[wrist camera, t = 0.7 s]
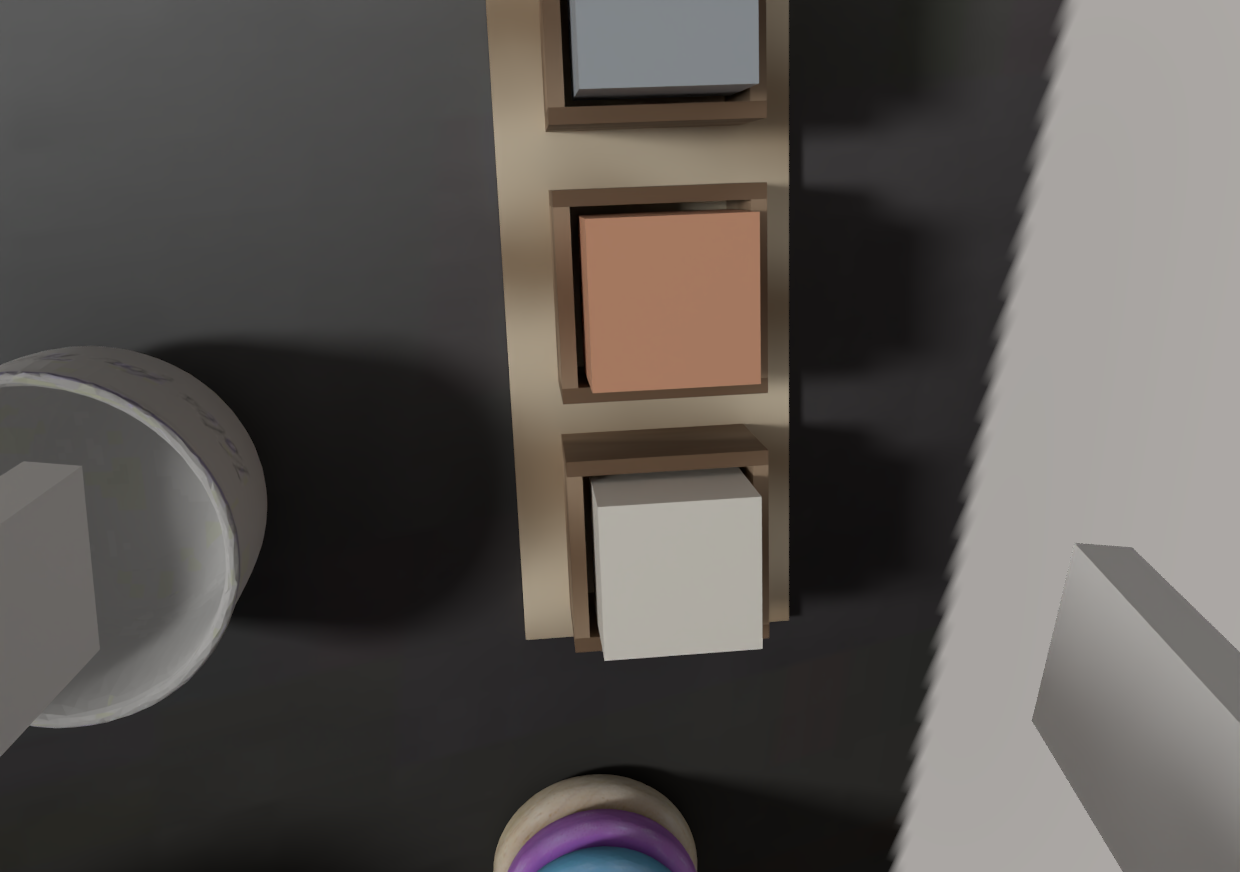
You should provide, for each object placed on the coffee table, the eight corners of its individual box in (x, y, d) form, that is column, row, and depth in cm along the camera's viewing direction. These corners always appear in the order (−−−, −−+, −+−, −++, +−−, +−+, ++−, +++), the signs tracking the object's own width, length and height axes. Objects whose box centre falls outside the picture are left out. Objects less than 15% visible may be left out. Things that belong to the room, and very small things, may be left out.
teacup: (331, 393, 37) (282, 447, 29) (242, 663, 39) (175, 781, 31) (-81, 253, 35) (-252, 272, 27) (-153, 548, 37) (-332, 644, 29)
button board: (785, 615, 41) (817, 666, 36) (526, 634, 40) (527, 689, 36) (785, -123, 35) (823, -168, 30) (478, -119, 34) (473, -164, 29)
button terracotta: (734, 362, 35) (761, 384, 31) (584, 370, 35) (592, 393, 31) (732, 208, 34) (759, 211, 30) (577, 215, 34) (585, 219, 30)
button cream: (736, 600, 37) (762, 648, 33) (594, 610, 37) (604, 660, 33) (735, 463, 36) (761, 496, 32) (588, 472, 36) (597, 506, 32)
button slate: (730, 95, 33) (758, 83, 29) (571, 100, 33) (579, 88, 29) (728, -78, 32) (757, -114, 28) (563, -75, 32) (570, -111, 28)
